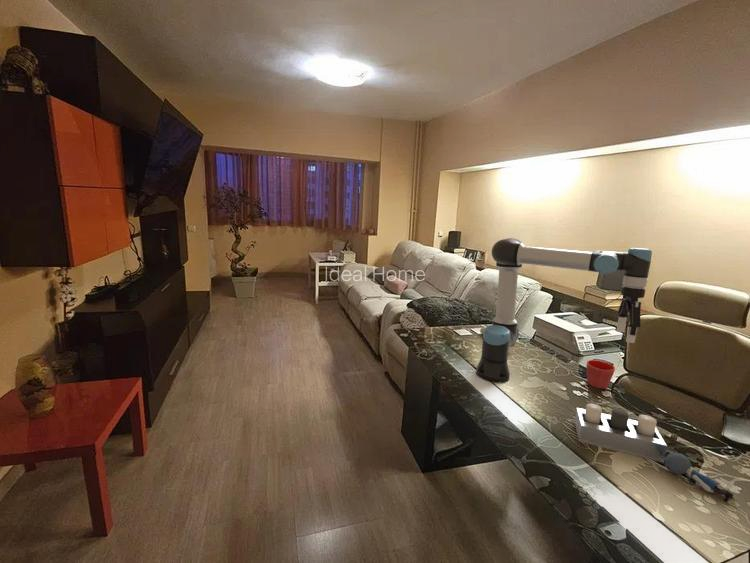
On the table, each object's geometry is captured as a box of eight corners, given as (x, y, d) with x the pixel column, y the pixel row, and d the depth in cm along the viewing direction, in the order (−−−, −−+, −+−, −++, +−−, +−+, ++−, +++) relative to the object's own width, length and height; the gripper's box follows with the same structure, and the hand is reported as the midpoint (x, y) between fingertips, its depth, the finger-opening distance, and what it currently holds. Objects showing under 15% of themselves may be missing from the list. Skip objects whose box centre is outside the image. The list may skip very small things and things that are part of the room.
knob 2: (638, 437, 110) (641, 420, 109) (634, 429, 114) (637, 413, 113) (655, 441, 108) (659, 424, 107) (650, 433, 112) (654, 416, 111)
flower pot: (616, 391, 148) (620, 371, 147) (589, 388, 151) (592, 368, 149) (605, 380, 159) (608, 361, 157) (580, 377, 161) (583, 358, 159)
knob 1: (585, 424, 116) (587, 408, 115) (583, 417, 120) (585, 402, 119) (600, 428, 114) (603, 412, 113) (598, 421, 118) (600, 405, 117)
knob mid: (610, 430, 113) (613, 414, 112) (607, 423, 117) (610, 407, 116) (627, 434, 111) (630, 418, 110) (623, 426, 115) (626, 411, 114)
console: (578, 441, 114) (581, 425, 113) (574, 422, 125) (576, 407, 124) (663, 462, 105) (667, 445, 104) (650, 440, 116) (654, 424, 115)
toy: (727, 505, 93) (664, 463, 106) (739, 487, 92) (674, 446, 105) (720, 508, 89) (655, 464, 102) (732, 489, 88) (666, 447, 101)
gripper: (657, 294, 122) (646, 348, 126) (635, 282, 145) (626, 329, 149) (632, 291, 125) (623, 345, 129) (614, 280, 147) (606, 326, 151)
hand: (624, 336), depth 139 cm, fingers open, 13 cm apart
